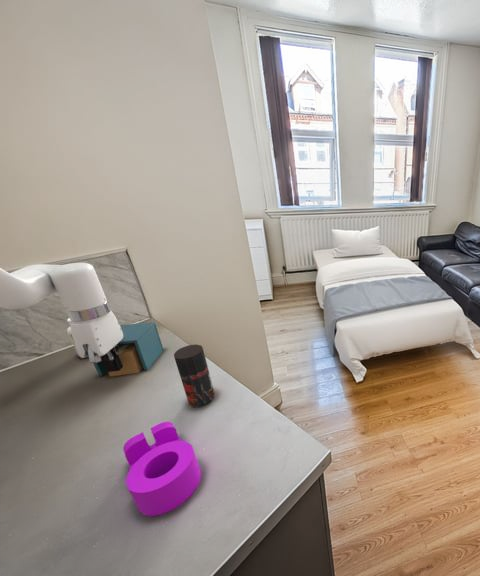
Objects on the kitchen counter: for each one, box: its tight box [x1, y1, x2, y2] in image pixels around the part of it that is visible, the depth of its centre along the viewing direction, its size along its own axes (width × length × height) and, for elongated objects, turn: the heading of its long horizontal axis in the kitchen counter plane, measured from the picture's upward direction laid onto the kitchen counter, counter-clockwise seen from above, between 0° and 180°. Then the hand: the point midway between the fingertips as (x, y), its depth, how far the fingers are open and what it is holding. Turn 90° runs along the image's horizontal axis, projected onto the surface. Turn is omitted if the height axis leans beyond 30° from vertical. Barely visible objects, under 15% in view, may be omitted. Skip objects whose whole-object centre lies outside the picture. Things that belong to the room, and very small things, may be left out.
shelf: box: [93, 321, 164, 377], centre depth 87 cm, size 11×12×11 cm
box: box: [107, 343, 144, 377], centre depth 85 cm, size 7×7×7 cm
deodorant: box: [173, 344, 216, 409], centre depth 72 cm, size 6×6×15 cm
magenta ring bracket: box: [122, 421, 202, 517], centre depth 55 cm, size 16×10×6 cm, turn 49°
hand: (115, 369), depth 80 cm, fingers closed
